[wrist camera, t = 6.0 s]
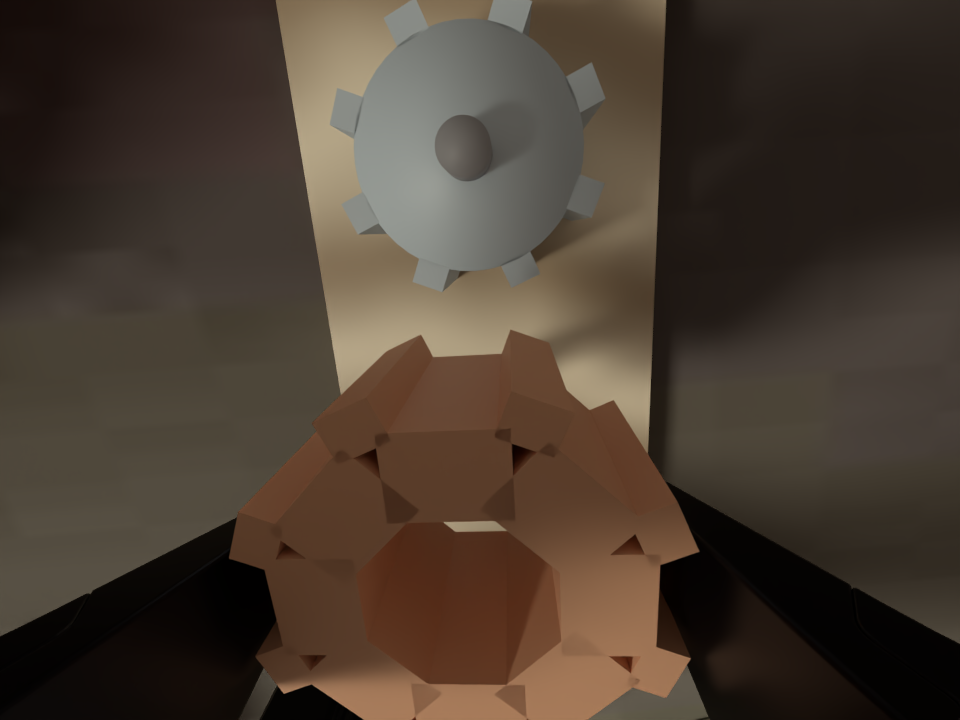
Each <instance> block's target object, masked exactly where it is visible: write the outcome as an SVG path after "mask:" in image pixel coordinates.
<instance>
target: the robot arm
mask: <svg viewBox="0 0 960 720" xmlns="http://www.w3.org/2000/svg"><path fill="white" fill-rule="evenodd" d="M665 483H666V484H667V486H668V487H669V489H670V490H671V492H672V494H673V495H674V497H675V498H676V500H677V502H678V504H679V506H680V508H681V511H682V513H683V515H684V518H685V520H686V522H687V524H688V527H689V529H690V531H691V534H692V536H693V538H694V541H695V543H696V545H697V547H698V550H699V552H697V553H694V554H691V555H688V556H685V557H682V558H679V559H677V560H674V561H671V562H668V563H665V564H662V565H660V582H659V588H660V590H661V592H662V594H663V597H664V599H665V601H666V603H667V605H668V606H669V608H670V610H671V613H672V615H673V617H674V620H675V622H676V625H677V627H678V629H679V632H680V634H681V636H682V639H683V641H684V643H685V646H686V648H687V650H688V653H689V655H690V657H691V659H690V661H689V662H688V664H687V666H688V668H689V671H690V673H691V676H692V678H693V680H694V683H695V685H696V688H697V690H698V692H699V695H700V697H701V700H702V702H703V704H704V707H705V709H706V712H707V714H708V716H709V719H710V720H960V644H959V643H957V642H955V641H953V640H951V639H949V638H947V637H945V636H943V635H941V634H939V633H937V632H936V631H934V630H932V629H930V628H928V627H926V626H924V625H923V624H921V623H919V622H917V621H915V620H913V619H911V618H910V617H908V616H906V615H904V614H902V613H900V612H899V611H897V610H895V609H893V608H891V607H889V606H887V605H886V604H884V603H882V602H880V601H879V600H877V599H875V598H873V597H871V596H870V595H868V594H866V593H864V592H863V591H861V590H859V589H857V588H853V589H852V590H851V586H850V584H848V583H846V582H845V581H843V580H841V579H839V578H837V577H836V576H834V575H832V574H830V573H828V572H827V571H825V570H823V569H821V568H820V567H818V566H816V565H814V564H812V563H811V562H809V561H807V560H805V559H804V558H802V557H800V556H798V555H796V554H795V553H793V552H791V551H789V550H787V549H786V548H784V547H782V546H780V545H779V544H777V543H775V542H773V541H771V540H770V539H768V538H766V537H764V536H762V535H761V534H759V533H757V532H755V531H754V530H752V529H750V528H748V527H746V526H745V525H743V524H741V523H739V522H738V521H736V520H734V519H732V518H730V517H729V516H727V515H725V514H723V513H721V512H720V511H718V510H716V509H714V508H713V507H711V506H709V505H707V504H705V503H704V502H702V501H700V500H698V499H696V498H695V497H693V496H691V495H689V494H688V493H686V492H684V491H682V490H680V489H679V488H677V487H675V486H673V485H672V484H670V483H668V482H666V481H665ZM236 520H237V518H235V519H233V520H231V521H229V522H227V523H225V524H223V525H221V526H219V527H217V528H215V529H213V530H211V531H209V532H207V533H205V534H203V535H201V536H199V537H197V538H195V539H193V540H191V541H189V542H187V543H185V544H183V545H182V546H180V547H178V548H176V549H174V550H172V551H170V552H168V553H166V554H164V555H162V556H160V557H158V558H156V559H154V560H152V561H150V562H148V563H146V564H144V565H142V566H140V567H138V568H136V569H134V570H132V571H130V572H128V573H126V574H124V575H122V576H120V577H118V578H116V579H115V580H113V581H111V582H109V583H107V584H105V585H103V586H101V587H99V588H97V589H95V590H93V591H92V593H91V594H85V595H83V596H81V597H79V598H77V599H75V600H73V601H71V602H69V603H67V604H65V605H63V606H61V607H59V608H57V609H55V610H53V611H51V612H49V613H47V614H45V615H43V616H41V617H39V618H37V619H35V620H33V621H31V622H29V623H27V624H25V625H23V626H21V627H19V628H17V629H15V630H13V631H10V632H8V633H6V634H4V635H2V636H0V720H239V718H240V716H241V714H242V711H243V709H244V707H245V705H246V703H247V701H248V699H249V697H250V695H251V693H252V691H253V689H254V687H255V685H256V682H257V680H258V678H259V676H260V674H261V672H262V670H263V668H264V667H263V666H262V665H261V663H260V662H259V661H258V660H257V658H256V657H255V656H256V654H257V653H258V651H259V649H260V648H261V646H262V644H263V643H264V641H265V639H266V638H267V636H268V634H269V633H270V631H271V629H272V628H273V626H274V624H275V623H276V621H277V619H276V615H275V611H274V607H273V603H272V599H271V595H270V590H269V586H268V582H267V578H266V574H265V570H264V569H260V568H257V567H254V566H251V565H248V564H245V563H242V562H239V561H235V560H232V559H229V555H230V550H231V545H232V540H233V535H234V530H235V525H236ZM260 720H364V719H362V718H361V717H359V716H358V715H356V714H355V713H353V712H352V711H350V710H349V709H347V708H346V707H344V706H343V705H341V704H340V703H338V702H337V701H335V700H334V699H333V698H331V697H330V696H328V695H327V694H325V693H324V692H322V691H321V690H319V689H318V688H316V687H315V686H313V685H312V684H311V685H308V686H305V687H302V688H299V689H296V690H293V691H290V692H288V693H285V694H284V693H283V692H282V691H281V689H280V688H279V687H278V685H277V687H276V689H275V690H274V692H273V694H272V696H271V698H270V700H269V702H268V704H267V706H266V708H265V710H264V712H263V714H262V716H261V718H260Z"/></svg>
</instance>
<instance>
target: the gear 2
mask: <svg viewBox="0 0 960 720" xmlns="http://www.w3.org/2000/svg"><path fill="white" fill-rule="evenodd" d="M312 425H313V426H314V428H315V429H316V431H317V432H316V433H315V434H314V435H313V436H312V437H311V438H310V439H309V440H308V441H307V442H306V443H305V444H304V445H303V446H302V447H301V448H300V449H299V450H298V451H297V452H296V453H295V454H294V455H293V456H292V457H291V458H290V459H289V460H288V461H287V462H286V463H285V464H284V465H283V466H282V468H281V469H280V470H279V471H278V472H277V473H276V474H275V475H274V476H273V477H272V478H271V479H270V480H269V481H268V482H267V483H266V484H265V485H264V486H263V487H262V488H261V489H260V490H259V491H258V492H257V493H256V494H255V495H254V496H253V497H252V498H251V499H250V500H249V501H248V503H247V504H246V505H245V506H244V507H243V508H242V509H241V510H240V511H239V512H238V515H237V520H236V525H235V530H234V535H233V540H232V545H231V550H230V555H229V559H232V560H235V561H239V562H242V563H245V564H248V565H251V566H254V567H257V568H260V569H264V570H265V574H266V578H267V582H268V586H269V590H270V595H271V599H272V603H273V607H274V611H275V615H276V619H277V621H276V623H275V624H274V626H273V628H272V629H271V631H270V633H269V634H268V636H267V638H266V639H265V641H264V643H263V644H262V646H261V648H260V649H259V651H258V653H257V654H256V656H255V657H256V658H257V660H258V661H259V662H260V663H261V665H262V666H263V667H264V669H265V670H266V671H267V673H268V674H269V675H270V676H271V678H272V679H273V680H274V682H275V683H276V684H277V685H278V687H279V688H280V689H281V691H282V692H283V693H284V694H285V693H288V692H290V691H293V690H296V689H299V688H302V687H305V686H308V685H311V684H312V685H313V686H315V687H316V688H318V689H319V690H321V691H322V692H324V693H325V694H327V695H328V696H330V697H331V698H333V699H334V700H335V701H337V702H338V703H340V704H341V705H343V706H344V707H346V708H347V709H349V710H350V711H352V712H353V713H355V714H356V715H358V716H359V717H361V718H362V719H364V720H588V719H589V718H590V717H592V716H593V715H595V714H596V713H597V712H599V711H600V710H602V709H603V708H604V707H606V706H607V705H609V704H610V703H611V702H613V701H614V700H616V699H617V698H618V697H620V696H621V695H623V694H624V693H625V692H627V691H628V690H630V689H631V688H632V687H633V688H636V689H639V690H642V691H645V692H648V693H652V694H655V695H658V696H661V697H664V698H666V697H667V696H668V694H669V693H670V691H671V689H672V688H673V686H674V685H675V683H676V681H677V680H678V678H679V677H680V675H681V674H682V672H683V670H684V669H685V667H686V666H687V664H688V662H689V661H690V659H691V657H690V655H689V653H688V650H687V648H686V646H685V643H684V641H683V639H682V636H681V634H680V632H679V629H678V627H677V625H676V622H675V620H674V617H673V615H672V613H671V610H670V608H669V606H668V605H667V603H666V601H665V599H664V597H663V594H662V592H661V590H660V588H659V582H660V565H662V564H665V563H668V562H671V561H674V560H677V559H679V558H682V557H685V556H688V555H691V554H694V553H697V552H699V550H698V547H697V545H696V543H695V541H694V538H693V536H692V534H691V531H690V529H689V527H688V524H687V522H686V520H685V518H684V515H683V513H682V511H681V508H680V506H679V504H678V502H677V500H676V498H675V497H674V495H673V494H672V492H671V490H670V489H669V487H668V486H667V484H666V483H665V481H664V479H663V478H662V476H661V475H660V473H659V471H658V470H657V468H656V467H655V465H654V463H653V462H652V460H651V459H650V457H649V455H648V454H647V452H646V451H645V449H644V447H643V446H642V444H641V443H640V441H639V439H638V438H637V436H636V435H635V433H634V432H633V430H632V428H631V427H630V425H629V424H628V422H627V420H626V419H625V417H624V416H623V414H622V412H621V411H620V409H619V408H618V406H617V404H616V403H615V401H614V400H612V401H610V402H608V403H605V404H603V405H601V406H598V407H596V408H593V409H591V410H589V409H588V408H587V407H585V406H584V405H583V404H582V403H581V402H580V401H579V400H577V399H576V398H575V397H574V396H573V395H572V394H571V393H569V392H568V391H567V390H566V387H565V385H564V382H563V379H562V376H561V374H560V371H559V368H558V366H557V363H556V360H555V357H554V355H553V352H552V349H551V346H550V344H549V342H546V341H543V340H540V339H537V338H534V337H531V336H528V335H525V334H522V333H519V332H516V331H514V330H511V329H510V332H509V335H508V338H507V340H506V343H505V346H504V349H503V351H502V354H485V355H466V356H446V357H433V356H432V354H431V352H430V350H429V348H428V346H427V344H426V343H425V341H424V339H423V337H422V335H419V336H417V337H415V338H413V339H410V340H408V341H406V342H404V343H402V344H400V345H398V346H396V347H394V348H392V349H390V350H388V351H386V352H385V353H384V354H383V355H382V356H381V357H380V358H379V359H378V360H377V361H376V362H375V363H374V364H373V365H372V366H371V367H370V368H368V369H367V370H366V371H365V372H364V373H363V374H362V375H361V376H360V377H359V378H358V379H357V380H356V381H355V382H354V383H353V384H352V385H351V386H350V387H349V388H348V389H347V390H346V391H345V392H344V393H342V394H341V395H340V396H339V397H338V398H337V399H336V400H335V401H334V402H333V403H332V404H331V405H330V406H329V407H328V408H327V409H326V410H325V411H324V412H323V413H322V414H321V415H320V416H319V417H318V418H316V419H315V420H314V421H313V422H312ZM476 521H495V522H497V523H498V524H499V525H500V526H502V527H503V528H504V529H505V530H507V531H475V532H455V531H454V530H453V529H451V528H450V527H449V526H448V525H446V524H445V523H444V522H476Z"/></svg>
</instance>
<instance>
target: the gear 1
mask: <svg viewBox="0 0 960 720" xmlns="http://www.w3.org/2000/svg"><path fill="white" fill-rule="evenodd" d="M531 9H532V1H531V0H493V3H492V7H491V10H490V14H489V17H488V20H482V19H474V18H472V19H455V20H450V21H444V22H440V23H437V24H435V25H432V26H429V27H428V25H427V22H426V20H425V18H424V16H423V14H422V11H421V9H420V7H419V5H418V3H417V0H411V1H409V2H408V3H406V4H404V5H403V6H401V7H400V8H398V9H397V10H395V11H394V12H392V13H391V14H389V15H387V16H386V17H384V20H385V22H386V24H387V26H388V28H389V30H390V33H391V35H392V37H393V39H394V41H395V43H396V45H397V47H396V48H395V49H394V50H393V51H392V52H391V53H390V54H389V55H388V56H387V57H386V58H385V59H384V61H383V62H382V63H381V64H380V66H379V67H378V68H377V70H376V71H375V73H374V75H373V76H372V78H371V80H370V81H369V83H368V85H367V88H366V90H365V92H364V95H363V97H361V96H359V95H356V94H353V93H350V92H347V91H345V90H342V89H339V88H337V92H336V97H335V101H334V106H333V111H332V116H331V120H330V125H331V126H333V127H334V128H336V129H338V130H339V131H341V132H343V133H344V134H346V135H348V136H349V137H351V138H353V139H354V158H355V166H356V172H357V177H358V181H359V184H360V187H361V190H362V193H360V194H358V195H357V196H355V197H353V198H351V199H350V200H348V201H346V202H344V203H343V204H341V205H342V206H343V208H344V210H345V212H346V214H347V216H348V218H349V219H350V221H351V223H352V225H353V227H354V229H355V230H356V232H357V234H358V235H360V234H388V235H389V236H390V237H391V238H392V239H393V240H394V241H395V242H396V243H397V244H398V245H399V246H401V247H402V248H403V249H404V250H406V251H407V252H408V253H410V254H412V255H413V256H415V257H417V258H419V261H418V265H417V268H416V272H415V275H414V278H413V282H414V283H417V284H420V285H423V286H426V287H429V288H432V289H435V290H437V291H440V292H443V291H444V290H445V289H446V288H447V287H449V286H450V285H451V284H452V283H453V282H454V281H455V280H456V279H458V276H459V273H460V271H479V270H486V269H492V268H495V267H499V266H501V267H502V269H503V271H504V273H505V275H506V278H507V280H508V282H509V284H510V286H511V288H512V287H514V286H516V285H519V284H521V283H523V282H525V281H527V280H529V279H531V278H533V277H535V276H537V275H539V274H540V272H539V269H538V267H537V265H536V263H535V261H534V258H533V256H532V254H531V252H530V251H531V250H533V249H534V248H535V247H537V246H538V245H539V244H541V243H542V242H543V241H544V240H545V239H546V238H547V237H548V236H549V235H550V234H551V232H552V231H553V230H554V229H555V227H556V226H557V225H558V224H559V222H560V221H561V219H562V218H565V219H568V220H571V221H574V220H580V219H586V218H592V215H593V213H594V210H595V207H596V205H597V202H598V200H599V197H600V195H601V192H602V190H603V187H604V184H605V183H602V182H599V181H597V180H594V179H591V178H588V177H585V176H583V175H581V169H582V164H583V153H584V136H583V129H584V128H585V127H586V125H587V124H588V123H589V121H590V120H591V118H592V117H593V116H594V114H595V113H596V111H597V110H598V109H599V107H600V106H601V104H602V103H603V102H604V100H605V99H606V98H605V96H604V93H603V90H602V88H601V85H600V83H599V80H598V77H597V75H596V72H595V69H594V67H593V64H592V62H591V63H589V64H588V65H586V66H584V67H582V68H581V69H579V70H577V71H575V72H574V73H572V74H570V75H568V76H567V77H566V76H565V75H564V73H563V71H562V70H561V68H560V67H559V65H558V64H557V63H556V62H555V60H554V59H553V58H552V57H551V56H550V55H549V53H548V52H547V51H546V50H545V49H543V48H542V47H541V46H540V45H539V44H538V43H537V42H535V41H534V40H533V39H531V38H530V37H529V29H530V19H531Z"/></svg>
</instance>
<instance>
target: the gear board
mask: <svg viewBox="0 0 960 720" xmlns="http://www.w3.org/2000/svg"><path fill="white" fill-rule="evenodd" d="M409 1H411V0H276V4H277V10H278V16H279V22H280V28H281V34H282V41H283V47H284V53H285V59H286V65H287V71H288V77H289V83H290V89H291V95H292V101H293V107H294V113H295V119H296V125H297V131H298V137H299V143H300V149H301V155H302V162H303V168H304V174H305V180H306V186H307V192H308V198H309V204H310V210H311V216H312V222H313V228H314V234H315V240H316V246H317V252H318V258H319V264H320V270H321V276H322V283H323V289H324V295H325V301H326V307H327V313H328V319H329V325H330V331H331V337H332V343H333V349H334V355H335V361H336V367H337V373H338V379H339V385H340V391H341V394H342V393H344V392H345V391H346V390H347V389H348V388H349V387H350V386H351V385H352V384H353V383H354V382H355V381H356V380H357V379H358V378H359V377H360V376H361V375H362V374H363V373H364V372H365V371H366V370H367V369H368V368H370V367H371V366H372V365H373V364H374V363H375V362H376V361H377V360H378V359H379V358H380V357H381V356H382V355H383V354H384V353H385V352H386V351H388V350H390V349H392V348H394V347H396V346H398V345H400V344H402V343H404V342H406V341H408V340H410V339H413V338H415V337H417V336H419V335H422V337H423V339H424V341H425V343H426V344H427V346H428V348H429V350H430V352H431V354H432V356H433V357H446V356H466V355H485V354H502V351H503V349H504V346H505V343H506V340H507V338H508V335H509V332H510V329H511V330H514V331H516V332H519V333H522V334H525V335H528V336H531V337H534V338H537V339H540V340H543V341H546V342H549V344H550V346H551V349H552V352H553V355H554V357H555V360H556V363H557V366H558V368H559V371H560V374H561V376H562V379H563V382H564V385H565V387H566V390H567V391H568V392H569V393H571V394H572V395H573V396H574V397H575V398H576V399H577V400H579V401H580V402H581V403H582V404H583V405H584V406H585V407H587V408H588V409H589V410H591V409H593V408H596V407H598V406H601V405H603V404H605V403H608V402H610V401H612V400H614V401H615V403H616V404H617V406H618V408H619V409H620V411H621V412H622V414H623V416H624V417H625V419H626V420H627V422H628V424H629V425H630V427H631V428H632V430H633V432H634V433H635V435H636V436H637V438H638V439H639V441H640V443H641V444H642V446H643V447H644V449H645V451H646V452H647V454H648V440H649V415H650V390H651V365H652V340H653V316H654V291H655V266H656V241H657V216H658V191H659V166H660V142H661V117H662V92H663V67H664V42H665V17H666V0H531V1H532V9H531V19H530V29H529V37H530V38H531V39H533V40H534V41H535V42H537V43H538V44H539V45H540V46H541V47H542V48H543V49H545V50H546V51H547V52H548V53H549V55H550V56H551V57H552V58H553V59H554V60H555V62H556V63H557V64H558V65H559V67H560V68H561V70H562V71H563V73H564V75H565V76H566V77H567V76H568V75H570V74H572V73H574V72H575V71H577V70H579V69H581V68H582V67H584V66H586V65H588V64H589V63H591V62H592V64H593V67H594V69H595V72H596V75H597V77H598V80H599V83H600V85H601V88H602V90H603V93H604V96H605V98H606V99H605V100H604V102H603V103H602V104H601V106H600V107H599V109H598V110H597V111H596V113H595V114H594V116H593V117H592V118H591V120H590V121H589V123H588V124H587V125H586V127H585V128H584V129H583V136H584V153H583V164H582V169H581V175H583V176H585V177H588V178H591V179H594V180H597V181H599V182H602V183H605V184H604V187H603V190H602V192H601V195H600V197H599V200H598V202H597V205H596V207H595V210H594V213H593V215H592V218H586V219H580V220H574V221H571V220H568V219H565V218H562V219H561V221H560V222H559V224H558V225H557V226H556V227H555V229H554V230H553V231H552V232H551V234H550V235H549V236H548V237H547V238H546V239H545V240H544V241H543V242H542V243H541V244H539V245H538V246H537V247H535V248H534V249H533V250H531V251H530V252H531V254H532V256H533V258H534V261H535V263H536V265H537V267H538V269H539V272H540V274H539V275H537V276H535V277H533V278H531V279H529V280H527V281H525V282H523V283H521V284H519V285H516V286H514V287H512V288H511V286H510V284H509V282H508V280H507V278H506V275H505V273H504V271H503V269H502V267H501V266H499V267H495V268H492V269H486V270H479V271H460V273H459V276H458V279H456V280H455V281H454V282H453V283H452V284H451V285H450V286H449V287H447V288H446V289H445V290H444V291H443V292H440V291H437V290H435V289H432V288H429V287H426V286H423V285H420V284H417V283H414V282H413V278H414V275H415V272H416V268H417V265H418V261H419V258H417V257H415V256H413V255H412V254H410V253H408V252H407V251H406V250H404V249H403V248H402V247H401V246H399V245H398V244H397V243H396V242H395V241H394V240H393V239H392V238H391V237H390V236H389V235H388V234H360V235H358V234H357V232H356V230H355V229H354V227H353V225H352V223H351V221H350V219H349V218H348V216H347V214H346V212H345V210H344V208H343V206H342V205H341V204H343V203H344V202H346V201H348V200H350V199H351V198H353V197H355V196H357V195H358V194H360V193H362V190H361V187H360V184H359V181H358V177H357V172H356V166H355V158H354V139H353V138H351V137H349V136H348V135H346V134H344V133H343V132H341V131H339V130H338V129H336V128H334V127H333V126H331V125H330V120H331V116H332V111H333V106H334V101H335V97H336V92H337V88H339V89H342V90H345V91H347V92H350V93H353V94H356V95H359V96H361V97H363V95H364V92H365V90H366V88H367V85H368V83H369V81H370V80H371V78H372V76H373V75H374V73H375V71H376V70H377V68H378V67H379V66H380V64H381V63H382V62H383V61H384V59H385V58H386V57H387V56H388V55H389V54H390V53H391V52H392V51H393V50H394V49H395V48H396V47H397V45H396V43H395V41H394V39H393V37H392V35H391V33H390V30H389V28H388V26H387V24H386V22H385V20H384V17H386V16H387V15H389V14H391V13H392V12H394V11H395V10H397V9H398V8H400V7H401V6H403V5H404V4H406V3H408V2H409ZM417 3H418V5H419V7H420V9H421V11H422V14H423V16H424V18H425V20H426V22H427V25H428V27H429V26H432V25H435V24H437V23H440V22H444V21H450V20H455V19H472V18H474V19H482V20H488V17H489V14H490V10H491V7H492V3H493V0H417ZM444 523H445V524H446V525H448V526H449V527H450V528H451V529H453V530H454V531H455V532H475V531H507V530H505V529H504V528H503V527H502V526H500V525H499V524H498V523H497V522H495V521H476V522H444Z"/></svg>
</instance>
